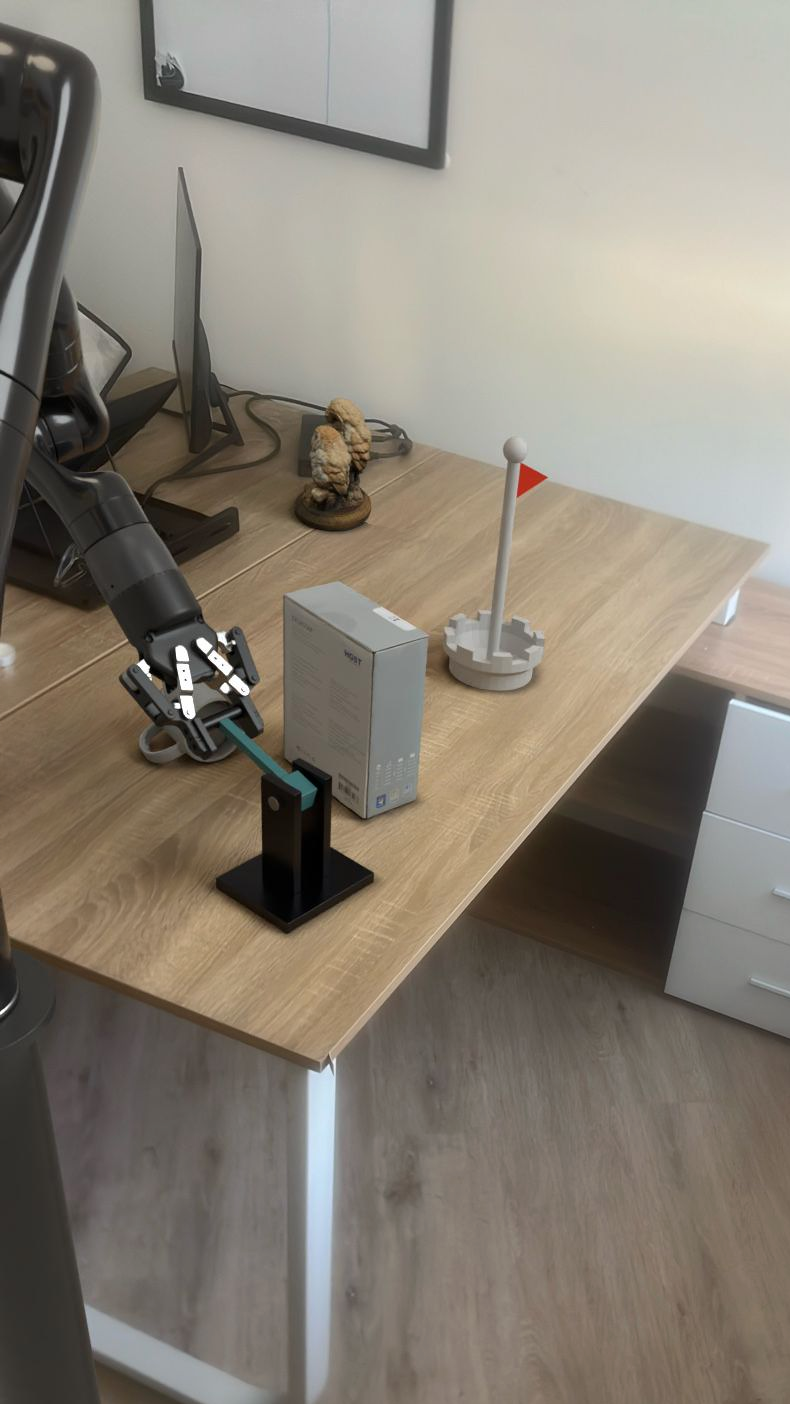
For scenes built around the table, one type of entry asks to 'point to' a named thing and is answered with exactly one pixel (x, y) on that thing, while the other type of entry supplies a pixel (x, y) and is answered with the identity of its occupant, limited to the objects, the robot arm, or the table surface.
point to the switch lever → (257, 751)
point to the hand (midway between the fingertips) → (234, 745)
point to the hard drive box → (353, 695)
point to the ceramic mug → (204, 705)
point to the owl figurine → (337, 471)
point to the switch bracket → (295, 856)
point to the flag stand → (498, 606)
